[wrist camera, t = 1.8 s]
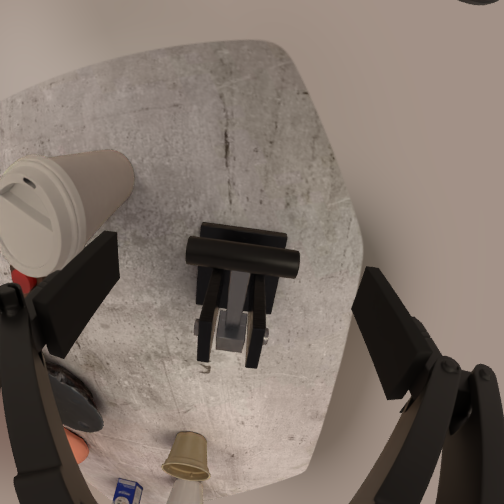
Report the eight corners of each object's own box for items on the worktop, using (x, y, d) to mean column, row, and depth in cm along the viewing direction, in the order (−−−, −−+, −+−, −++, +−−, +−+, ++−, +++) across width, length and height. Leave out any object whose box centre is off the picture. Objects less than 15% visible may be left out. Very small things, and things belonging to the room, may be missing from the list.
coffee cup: (165, 183, 30) (96, 240, 16) (109, 234, 32) (37, 306, 19) (112, 117, 27) (15, 131, 13) (62, 175, 29) (-28, 219, 16)
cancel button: (16, 261, 30) (8, 267, 29) (34, 265, 31) (26, 272, 29) (21, 284, 32) (15, 290, 30) (39, 289, 32) (32, 296, 31)
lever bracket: (202, 221, 32) (172, 285, 20) (286, 233, 32) (301, 302, 20) (197, 298, 36) (174, 377, 24) (270, 308, 36) (274, 391, 25)
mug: (168, 471, 62) (162, 502, 52) (205, 476, 62) (201, 509, 52) (176, 485, 67) (171, 513, 58) (209, 490, 67) (206, 518, 58)
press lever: (192, 224, 16) (182, 258, 15) (299, 239, 17) (300, 274, 15) (198, 321, 26) (193, 346, 24) (265, 330, 26) (263, 355, 24)
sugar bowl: (96, 443, 58) (86, 473, 49) (83, 451, 62) (73, 477, 53) (57, 418, 54) (43, 448, 45) (48, 429, 59) (36, 455, 50)
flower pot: (166, 423, 49) (157, 459, 41) (214, 430, 49) (209, 467, 42) (172, 444, 53) (165, 476, 45) (215, 450, 53) (211, 483, 46)
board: (123, 426, 51) (117, 445, 47) (46, 403, 51) (38, 418, 47) (91, 358, 42) (80, 379, 37) (7, 335, 42) (-6, 351, 37)
